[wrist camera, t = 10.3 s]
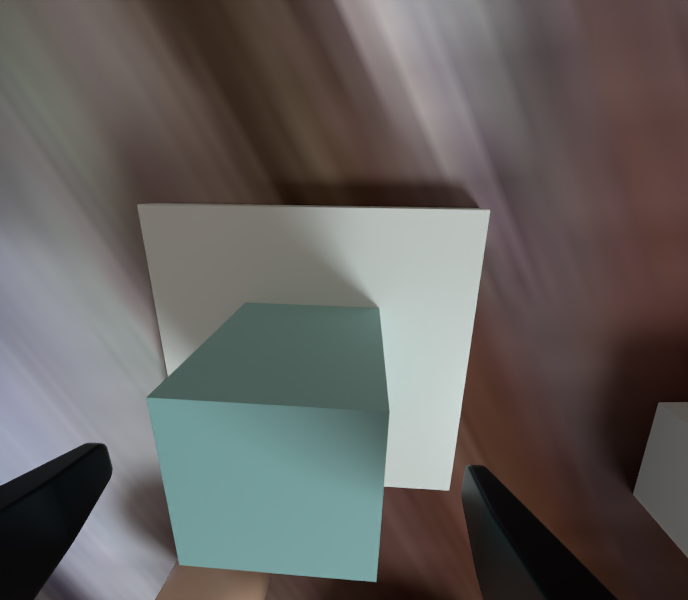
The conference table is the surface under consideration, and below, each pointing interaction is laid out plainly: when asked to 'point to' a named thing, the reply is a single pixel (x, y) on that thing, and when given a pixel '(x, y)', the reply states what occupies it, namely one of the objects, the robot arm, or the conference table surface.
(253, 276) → the pad
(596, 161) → the conference table surface
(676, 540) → the grey block
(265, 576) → the tan rounded lump
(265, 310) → the teal block
